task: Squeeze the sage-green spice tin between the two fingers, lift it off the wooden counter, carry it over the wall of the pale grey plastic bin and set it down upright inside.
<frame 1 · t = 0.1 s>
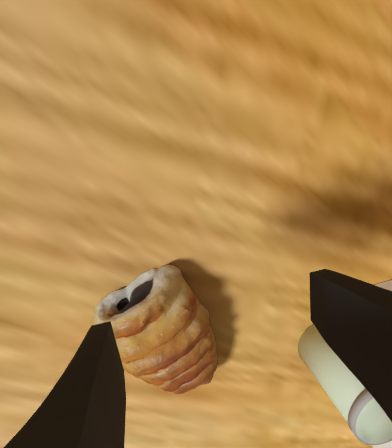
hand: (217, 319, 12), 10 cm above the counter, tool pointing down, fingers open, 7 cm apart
pastry: (160, 316, 24), on the counter
tin: (323, 341, 27), on the counter
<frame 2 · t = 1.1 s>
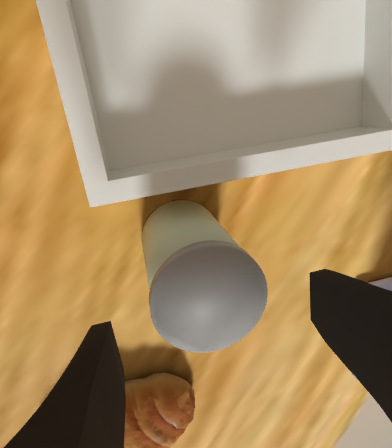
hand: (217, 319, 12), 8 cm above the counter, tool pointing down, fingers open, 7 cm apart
pastry: (116, 411, 23), on the counter
tin: (180, 237, 19), on the counter
bin: (229, 32, 17), on the counter
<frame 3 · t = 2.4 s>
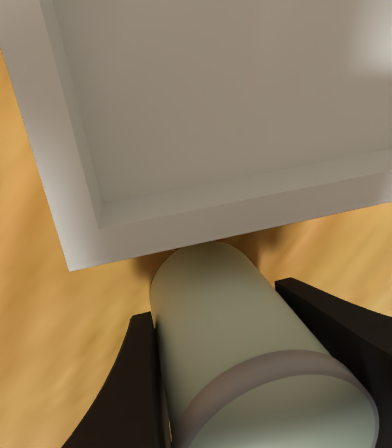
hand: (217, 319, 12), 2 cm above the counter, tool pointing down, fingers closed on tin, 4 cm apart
tin: (204, 292, 14), on the counter, touching gripper
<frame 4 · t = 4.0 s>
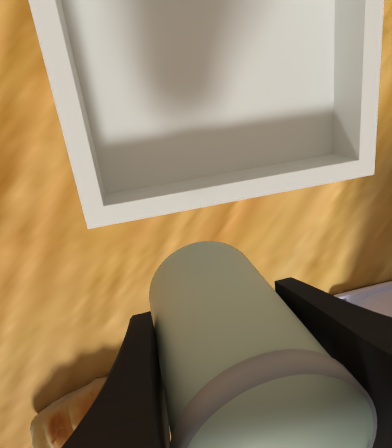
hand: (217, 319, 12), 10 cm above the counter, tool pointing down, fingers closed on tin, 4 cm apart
pastry: (102, 405, 25), on the counter
tin: (204, 292, 14), point 8 cm above the counter, touching gripper
bin: (212, 72, 19), on the counter
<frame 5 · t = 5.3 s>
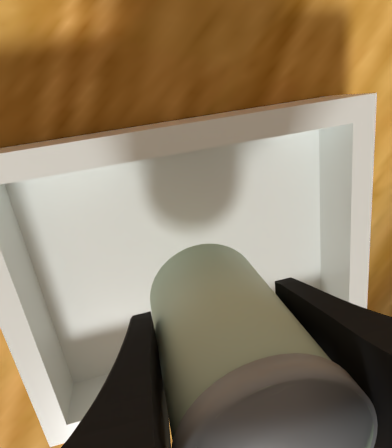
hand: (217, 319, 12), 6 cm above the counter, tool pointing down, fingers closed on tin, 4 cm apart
tin: (204, 294, 14), point 4 cm above the counter, touching gripper
bin: (187, 254, 17), on the counter
when the fingers open (4 cm above the counter, at t = 6.1 s): tin drops 1 cm, resting on bin.
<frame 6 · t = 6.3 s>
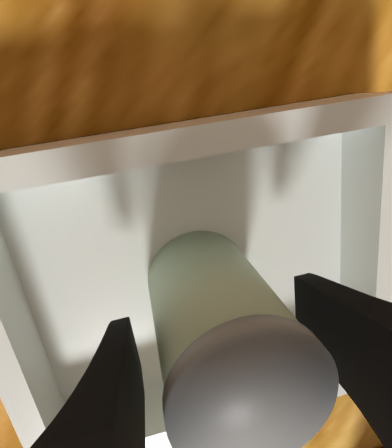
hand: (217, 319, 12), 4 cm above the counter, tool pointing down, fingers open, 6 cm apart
tin: (197, 277, 15), point 1 cm above the counter, touching bin
bin: (194, 270, 15), on the counter
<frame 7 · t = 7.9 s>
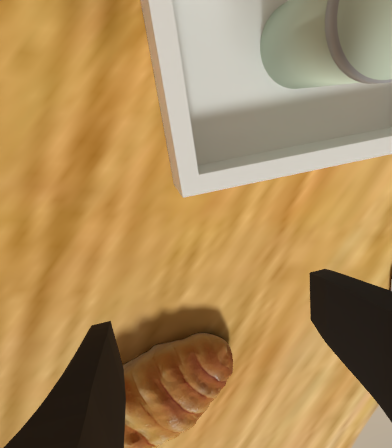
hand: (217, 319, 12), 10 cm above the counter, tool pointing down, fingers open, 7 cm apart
pastry: (160, 373, 25), on the counter
tin: (297, 45, 19), resting on bin
bin: (293, 44, 19), on the counter
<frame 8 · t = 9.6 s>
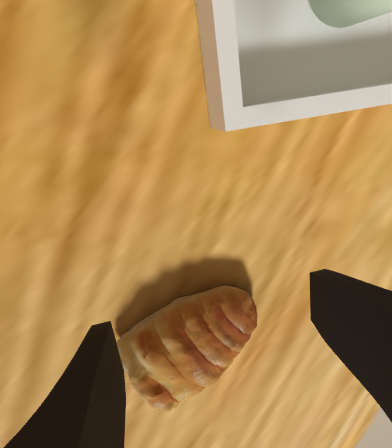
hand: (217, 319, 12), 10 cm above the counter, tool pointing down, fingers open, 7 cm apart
pastry: (181, 329, 24), on the counter
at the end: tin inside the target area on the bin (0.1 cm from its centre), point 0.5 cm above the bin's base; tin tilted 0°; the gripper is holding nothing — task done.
